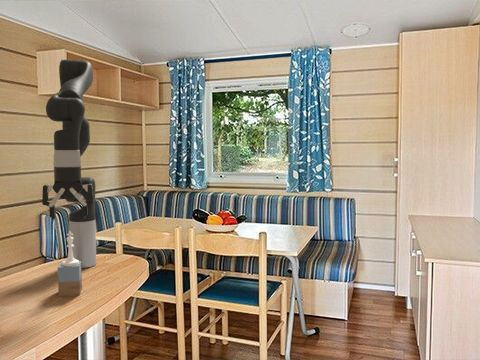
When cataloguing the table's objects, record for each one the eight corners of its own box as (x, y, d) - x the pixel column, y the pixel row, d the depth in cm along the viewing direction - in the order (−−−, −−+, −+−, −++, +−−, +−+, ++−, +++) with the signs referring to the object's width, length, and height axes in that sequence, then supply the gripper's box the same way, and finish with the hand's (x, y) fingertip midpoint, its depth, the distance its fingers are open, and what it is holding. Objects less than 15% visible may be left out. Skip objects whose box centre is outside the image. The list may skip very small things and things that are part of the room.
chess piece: (65, 261, 131) (64, 230, 130) (81, 261, 131) (80, 230, 130) (59, 266, 126) (58, 233, 125) (76, 266, 126) (75, 233, 126)
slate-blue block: (60, 276, 131) (60, 262, 131) (81, 274, 133) (81, 260, 132) (58, 282, 125) (57, 267, 125) (79, 280, 127) (79, 266, 126)
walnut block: (61, 290, 131) (61, 276, 131) (82, 288, 133) (81, 274, 133) (58, 296, 126) (58, 282, 125) (80, 295, 127) (79, 280, 127)
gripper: (93, 164, 131) (94, 215, 133) (44, 164, 128) (46, 217, 129) (91, 165, 124) (92, 219, 126) (39, 166, 120) (40, 221, 122)
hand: (69, 218), depth 127 cm, fingers open, 8 cm apart
